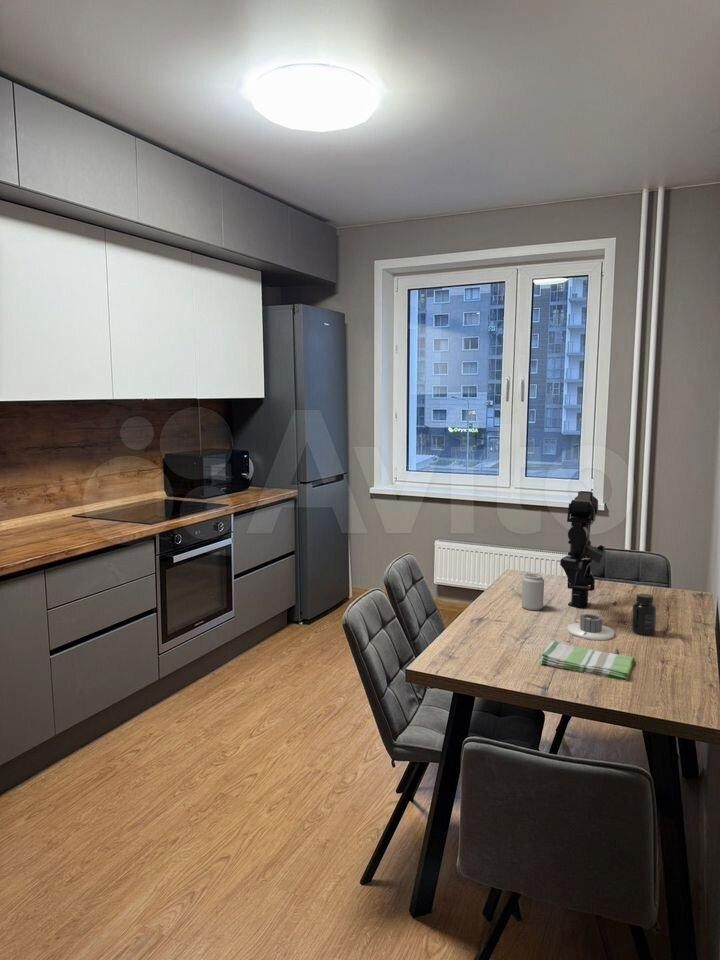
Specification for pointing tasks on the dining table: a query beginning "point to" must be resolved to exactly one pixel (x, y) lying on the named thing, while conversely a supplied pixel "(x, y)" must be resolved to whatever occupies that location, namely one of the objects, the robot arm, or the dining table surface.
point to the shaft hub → (603, 635)
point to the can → (532, 591)
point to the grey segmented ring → (591, 623)
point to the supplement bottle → (644, 615)
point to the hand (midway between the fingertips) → (577, 582)
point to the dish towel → (587, 660)
